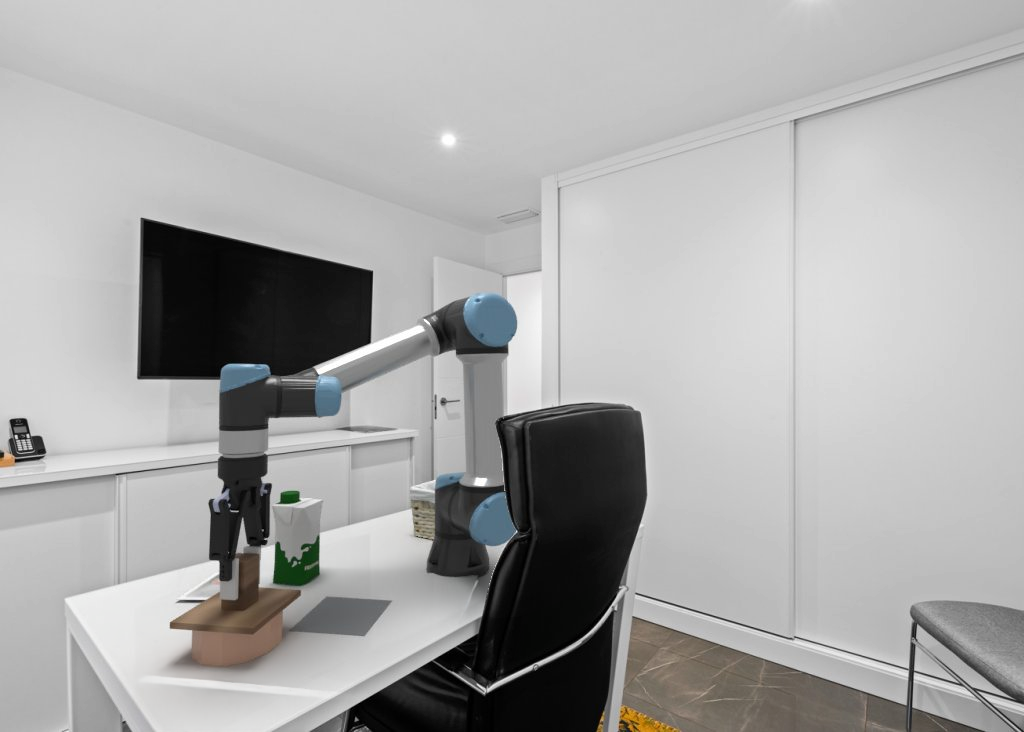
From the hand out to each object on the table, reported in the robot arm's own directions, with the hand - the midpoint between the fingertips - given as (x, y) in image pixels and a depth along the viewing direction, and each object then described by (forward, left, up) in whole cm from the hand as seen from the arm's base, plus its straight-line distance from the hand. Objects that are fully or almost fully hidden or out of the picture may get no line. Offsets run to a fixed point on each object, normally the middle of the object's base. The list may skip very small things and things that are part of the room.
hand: (240, 590), depth 85 cm
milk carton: (+5, -27, -10) cm, 29 cm away
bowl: (0, 0, -10) cm, 10 cm away
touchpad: (+21, -22, -10) cm, 32 cm away
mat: (-13, -12, -10) cm, 20 cm away
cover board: (0, 0, -3) cm, 3 cm away
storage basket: (-21, -69, -10) cm, 73 cm away
